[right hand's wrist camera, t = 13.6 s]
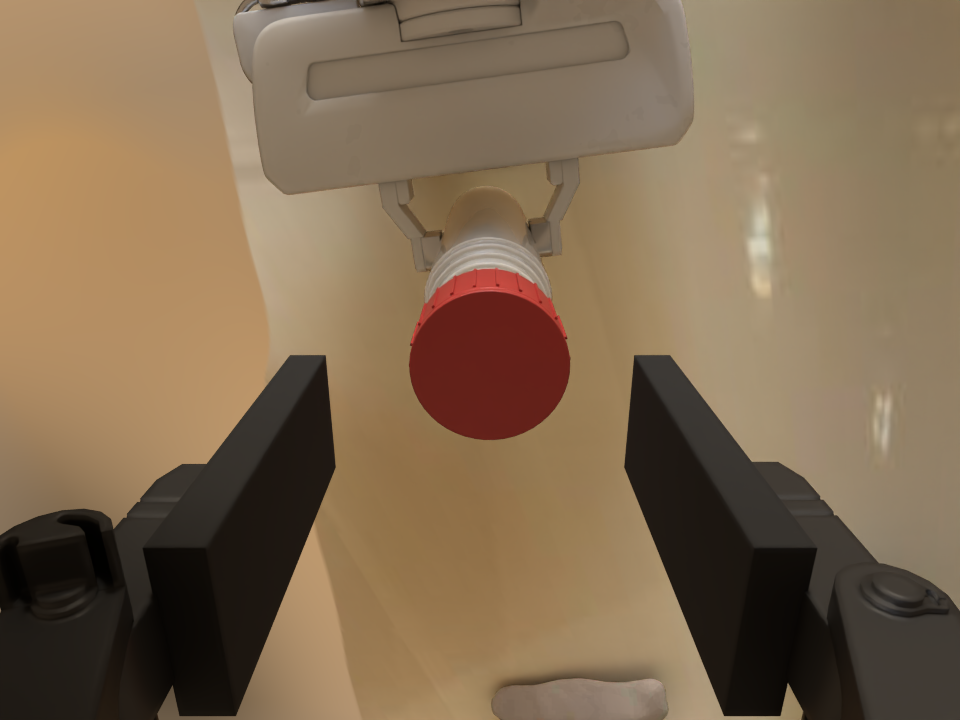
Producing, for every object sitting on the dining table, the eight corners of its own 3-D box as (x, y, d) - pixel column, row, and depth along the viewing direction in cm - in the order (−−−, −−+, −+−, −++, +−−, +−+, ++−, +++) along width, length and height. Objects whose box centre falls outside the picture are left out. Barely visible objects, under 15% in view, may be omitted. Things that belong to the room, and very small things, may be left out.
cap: (579, 378, 20) (591, 414, 18) (445, 420, 21) (440, 460, 18) (536, 245, 19) (544, 265, 16) (394, 294, 19) (381, 320, 17)
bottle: (534, 248, 40) (594, 411, 18) (463, 273, 40) (439, 458, 19) (510, 174, 38) (545, 256, 17) (437, 200, 39) (378, 312, 17)
